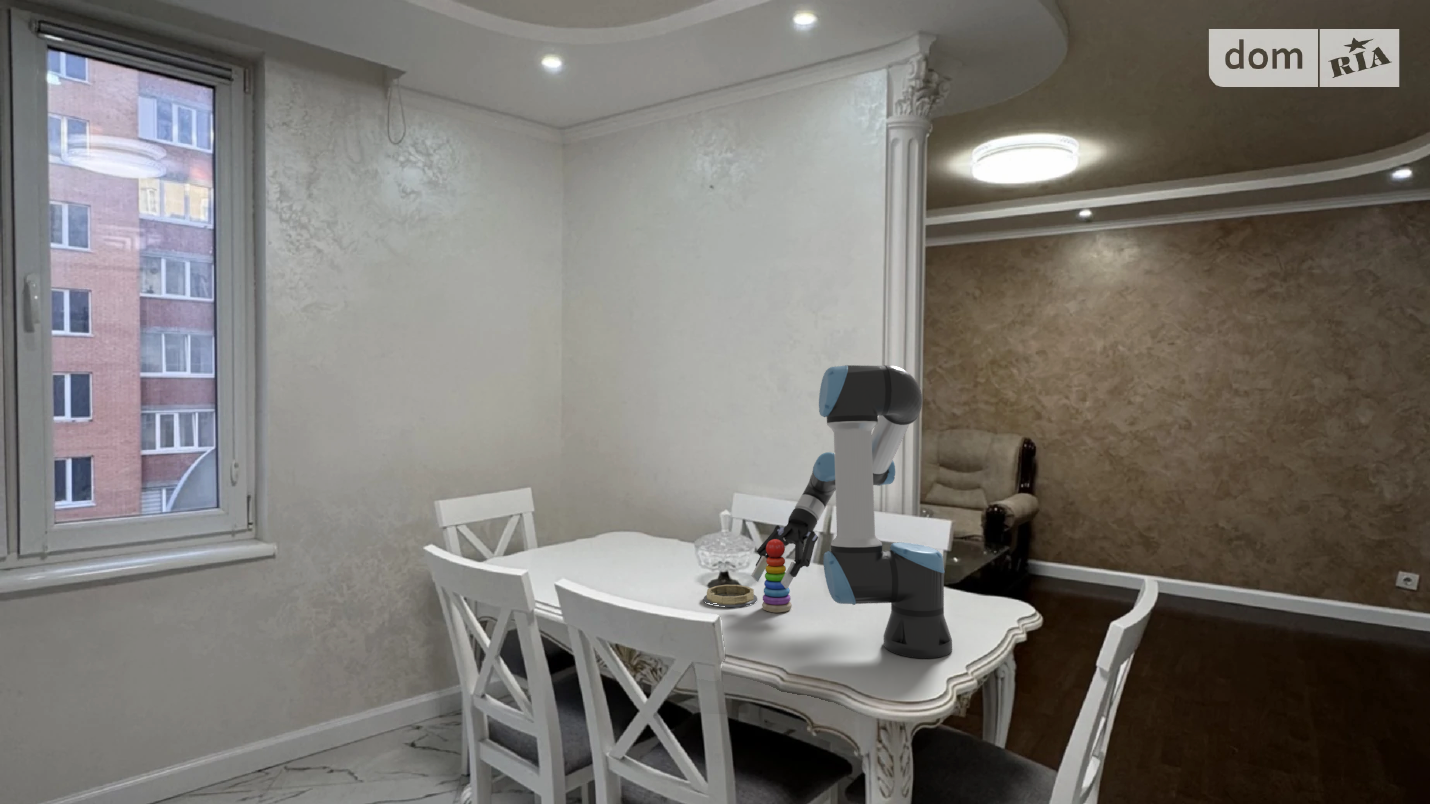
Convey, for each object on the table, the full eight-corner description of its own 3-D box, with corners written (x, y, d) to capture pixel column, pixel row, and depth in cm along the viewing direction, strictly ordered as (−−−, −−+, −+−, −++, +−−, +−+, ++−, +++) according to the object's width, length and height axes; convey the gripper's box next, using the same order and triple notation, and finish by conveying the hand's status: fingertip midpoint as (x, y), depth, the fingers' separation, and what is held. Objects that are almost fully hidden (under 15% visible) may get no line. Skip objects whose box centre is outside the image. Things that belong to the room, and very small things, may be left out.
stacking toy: (796, 607, 205) (796, 538, 204) (783, 615, 198) (782, 544, 198) (770, 603, 209) (770, 535, 209) (756, 610, 202) (756, 541, 202)
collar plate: (756, 608, 205) (756, 598, 205) (701, 607, 206) (701, 598, 206) (757, 593, 220) (757, 584, 220) (706, 592, 221) (706, 583, 221)
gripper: (844, 528, 206) (808, 598, 195) (781, 518, 222) (745, 582, 211) (832, 511, 202) (795, 581, 191) (769, 502, 218) (731, 566, 207)
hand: (769, 582), depth 201 cm, fingers open, 10 cm apart
